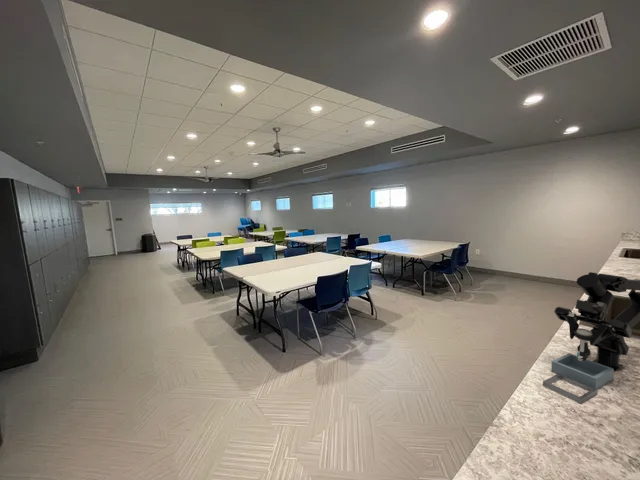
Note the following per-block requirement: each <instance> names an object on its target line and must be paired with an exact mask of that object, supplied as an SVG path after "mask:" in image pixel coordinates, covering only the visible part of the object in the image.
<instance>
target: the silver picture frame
mask: <svg viewBox="0 0 640 480" xmlns="http://www.w3.org/2000/svg"><path fill="white" fill-rule="evenodd" d="M560 380H562V381H564V382H565V383H569V384H571V385H573V386H576V387H578V388H580V389H583V390H585V391H586V392H585V393H584V394H582V395H581V396H579V395H576V394H574V393H572V392H570V391H568V390H565V389H563V388H561V387H559V386H557V385H555V384H554V383H556V382H557V381H560ZM542 386H543V387H545V388H547V389H549V390H551V391H554V392H555V393H557V394H560V395H562V396H564V397H566V398H567V399H571V400H573V401H574V402H576V403H578V404H581V405H582V404H584V403H585V402H587V401H589V400H590V399H592V398H594V397H595V396H597V395H598V394H599V392H598V391H599V389H596V388H593V387H591V386H589V385H586V384H584V383H581V382H579V381H577V380H574V379H572V378H570V377H567V376H565V375H563V374H560V373H559V374H554V375H553V376H550V377H549V378H547V379H545V380H542Z"/></svg>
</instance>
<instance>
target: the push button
mask: <svg viewBox="0 0 640 480" xmlns="http://www.w3.org/2000/svg"><path fill="white" fill-rule="evenodd" d="M590 330H591V329H590ZM590 330H589V329H587V328H578V329H577V330H575V331H574V334H575V336H574V338H577V339H578V340H579V345H578V346H577V352H576V356H578V360H579V361H581V360H582V361H585V360H586V359H587V360H590V359H591V355H592V354H591V349H590V348H589V343H588V342H590V341H592V338H593V337H594V335H595V334H593V333H592V332H591V331H590Z"/></svg>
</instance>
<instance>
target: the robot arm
mask: <svg viewBox="0 0 640 480" xmlns="http://www.w3.org/2000/svg"><path fill="white" fill-rule="evenodd" d="M576 284H577V285H578V287H579V288H580V289H581V290H582V291H583V293H584V294H585V295H587V296H588V297H587V299H586V300H581V299H577V300H576V303H575V308H574V309H576V310H577V312H578V314H577V313H574V312H572V309H571V308H570V309H569V308H565V307H562V306H557V307H555V309H554V310H553V313H554V314H555V315H556V317H557V318H558V320H561V321H563V322H567V323H568V325H569V338H570V340H573V339H574V338H575V334H574V331H575V330H577V329H579V327H580V325H579V323H578V322H579V321H580V322H583V323H584V322H585V323H587V324H592V325H594V326H592V328H591V329H590V331H591V332H592V333H593V334H595V335H594V337H593V338H592V341H589V345H591V346H593V347H596V358H595V359H593V360H592V361H593V362H596V363H599V364H601V365H604V366H607V367H610V368H613V369H614V371H615V372H616V371H619V370H620V369H622V368H623V367H624V365H623V364H621V363H620V357H621V356H627V354H628V353H629V351H630V346H629V345H627V343H626V341H625V338H627V339H630V338H631V336H632V334H633V331H632V329H633V328H634V327H635V326H636V325H637V324H638V323H639V322H640V279H638V278H635V279H631V278H627V277H625V276H620V275H612V274H607V273H597V272H591V271H590V272H588V274H583V275H581V276H579V277H578V278H577V279H576ZM628 290H630V291H629V292H628V294H627V295H628V297H629V302H630V305H629V306H627V308H625V309H624V310H622V312H621V313H619V314H618V315H617V316H615V318H611V319H609V321H606V320H605V318H606V316H608V315H609V309H610V306H611V304H612V302H613V303H615V300H616V299H615V296H614V294H613V293H612V292H615V293H625V292H626V291H628Z"/></svg>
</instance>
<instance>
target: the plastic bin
mask: <svg viewBox="0 0 640 480" xmlns="http://www.w3.org/2000/svg"><path fill="white" fill-rule="evenodd" d="M550 371H551V372H552V373H553V374H555V375H557V374H559V373H560V374H563V375H565V376H567V377H570V378H572V379H574V380H577V381H579V382H581V383H584V384H586V385H589V386H591V387H593V388H596V389H598V390H599V389H601V388H603V387H604V386H606V385H607V384H609V383H611V382H612V381H614V373H615V372H614V369H613V368H610V367H607V366H604V365H601V364H599V363H596V362H593V360H590V359H589V360H588V358H587V359H586V360H585V361H582V360H581V361H579V360H578V356H577V354H573V353H570V352H569V353H566V354H565V355H562V356H560V357H558V358H556V359H553V360H552V361H551V368H550Z"/></svg>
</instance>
